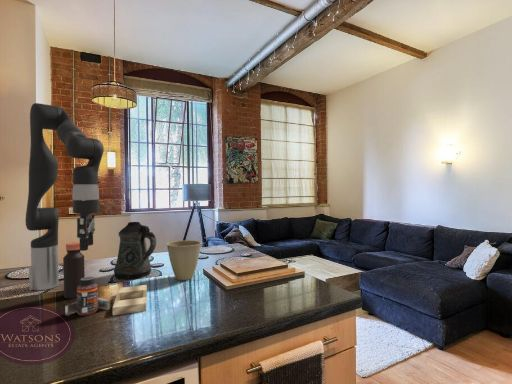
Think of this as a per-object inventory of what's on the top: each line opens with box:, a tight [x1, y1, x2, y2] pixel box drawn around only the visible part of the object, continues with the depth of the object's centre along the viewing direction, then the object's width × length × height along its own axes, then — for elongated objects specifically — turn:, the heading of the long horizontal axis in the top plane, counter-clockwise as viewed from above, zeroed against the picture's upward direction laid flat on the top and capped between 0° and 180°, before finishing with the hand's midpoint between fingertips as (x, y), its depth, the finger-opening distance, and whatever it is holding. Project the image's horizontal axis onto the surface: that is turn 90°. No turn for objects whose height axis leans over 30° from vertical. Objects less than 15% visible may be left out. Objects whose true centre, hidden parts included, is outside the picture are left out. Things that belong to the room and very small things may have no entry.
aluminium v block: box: [64, 297, 111, 316], centre depth 99 cm, size 13×8×3 cm, turn 110°
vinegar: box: [62, 242, 86, 300], centre depth 111 cm, size 7×7×20 cm
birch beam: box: [112, 284, 148, 316], centre depth 104 cm, size 10×20×2 cm, turn 20°
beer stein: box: [113, 221, 157, 281], centre depth 138 cm, size 16×19×25 cm
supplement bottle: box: [76, 276, 99, 317], centre depth 95 cm, size 6×6×11 cm
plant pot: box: [166, 239, 202, 281], centre depth 132 cm, size 15×15×16 cm
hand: (86, 247), depth 95 cm, fingers open, 8 cm apart
